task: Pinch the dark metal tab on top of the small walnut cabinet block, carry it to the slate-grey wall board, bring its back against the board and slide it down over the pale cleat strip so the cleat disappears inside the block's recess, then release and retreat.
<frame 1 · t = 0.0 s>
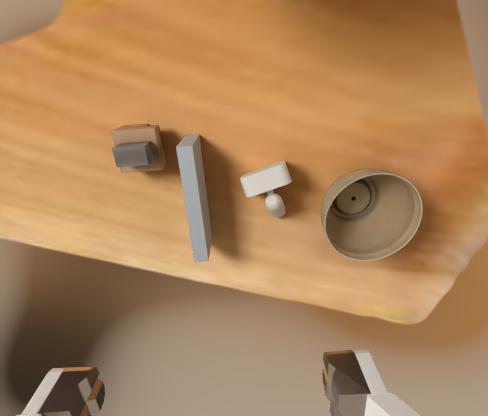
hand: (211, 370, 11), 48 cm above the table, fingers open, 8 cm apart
cabinet: (146, 143, 56), on the table
wall board: (199, 189, 59), on the table
wall hook: (269, 186, 60), on the table
planter bowl: (351, 195, 61), on the table
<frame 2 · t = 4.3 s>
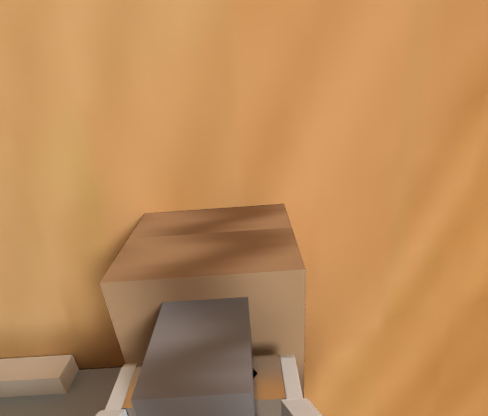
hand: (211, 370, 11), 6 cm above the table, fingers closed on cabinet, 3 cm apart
cabinet: (221, 266, 17), on the table, touching gripper
wall board: (91, 382, 20), on the table
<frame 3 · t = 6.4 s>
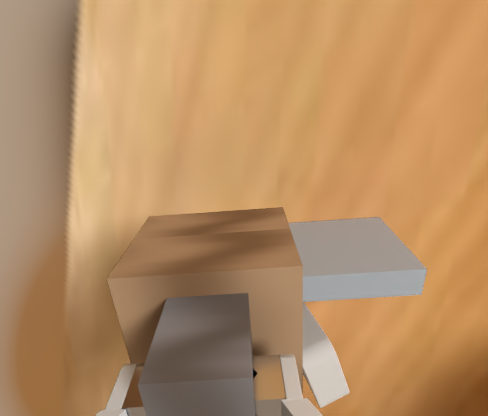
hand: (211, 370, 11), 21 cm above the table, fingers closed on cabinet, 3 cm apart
cabinet: (222, 268, 17), point 14 cm above the table, touching gripper
wall board: (278, 234, 33), on the table
wall hook: (276, 327, 38), on the table
when the fingers open (7 cm above the table, at t = 9.0 s): cabinet stays where it is, on the table.
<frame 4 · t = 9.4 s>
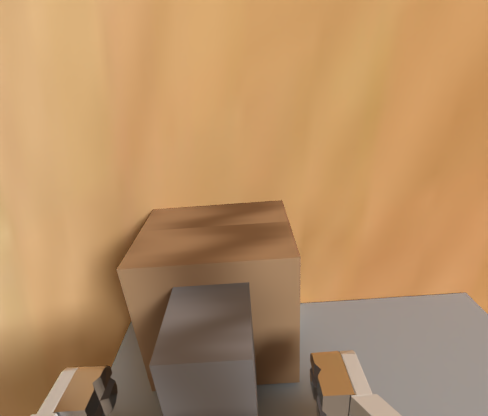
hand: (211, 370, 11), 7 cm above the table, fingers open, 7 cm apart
cabinet: (223, 258, 18), on the table
wall board: (298, 318, 20), on the table
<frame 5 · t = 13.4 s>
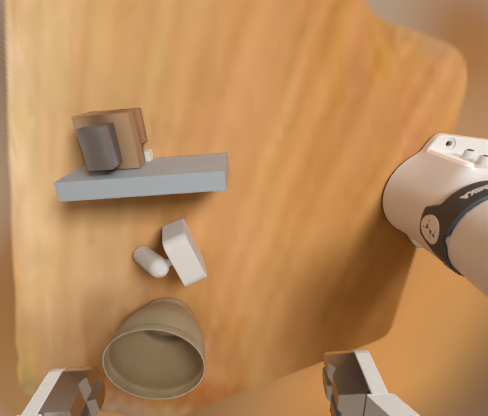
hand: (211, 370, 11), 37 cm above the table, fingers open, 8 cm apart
cabinet: (121, 134, 44), on the table
wall board: (158, 165, 46), on the table
wall hook: (170, 242, 52), on the table
planter bowl: (168, 316, 58), on the table
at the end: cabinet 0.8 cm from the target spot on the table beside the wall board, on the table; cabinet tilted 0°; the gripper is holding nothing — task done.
